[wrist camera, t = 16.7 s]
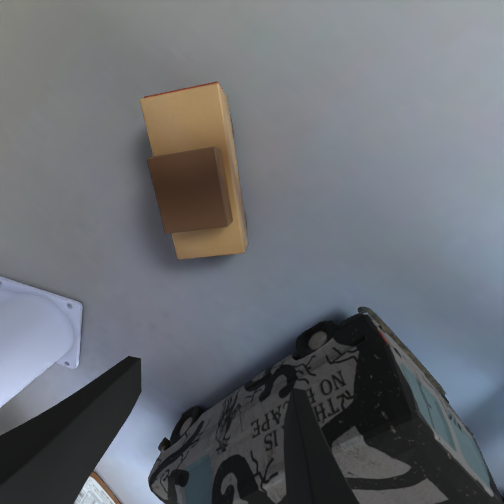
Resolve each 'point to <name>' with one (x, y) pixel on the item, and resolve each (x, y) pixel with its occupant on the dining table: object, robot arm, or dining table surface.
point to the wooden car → (196, 171)
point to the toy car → (331, 428)
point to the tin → (96, 492)
